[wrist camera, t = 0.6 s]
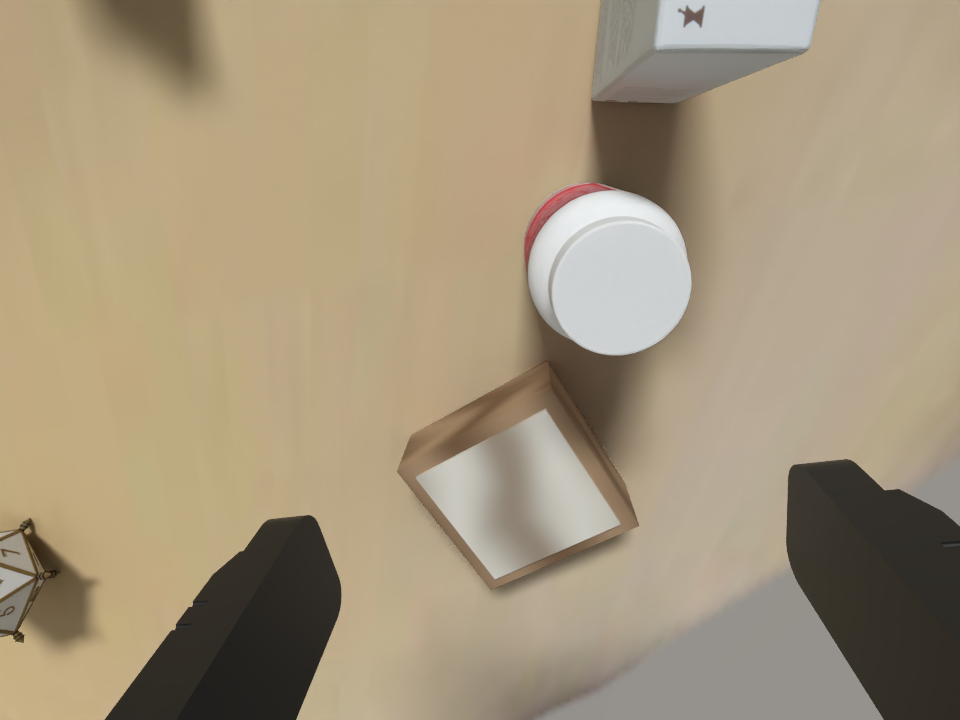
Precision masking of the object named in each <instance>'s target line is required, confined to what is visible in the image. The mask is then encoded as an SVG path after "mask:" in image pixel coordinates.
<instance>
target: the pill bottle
mask: <svg viewBox="0 0 960 720" xmlns="http://www.w3.org/2000/svg"><path fill="white" fill-rule="evenodd" d="M524 251H525V261H526V269H527V278H528V285H529V290H530V293H531V297H532V299H533V302H534V304H535V306H536V308H537V310H538V312H539V313H540V315H541V316H542V318H543V319H544V320H545V321H546V323H547V324H548V325H549V326H551V327H552V328H553V329H554V330H555V331H556V332H558V333H559V334H561V335H562V336H564V337H566V338H568V339H570V340H572V341H574V342H575V343H577V344H578V345H580V346H581V347H583V348H585V349H587V350H589V351H592V352H595V353H599V354H603V355H628V354H632V353H636V352H639V351H642V350H645V349H647V348H649V347H651V346H652V345H655V344H656V343H658V342H659V341H660V340H662V339H663V338H664V337H666V336H667V335H668V334H669V333H670V332H671V331H672V330H673V329H674V327H675V326H676V325H677V324H678V322H679V321H680V319H681V318H682V316H683V314H684V312H685V310H686V308H687V305H688V302H689V299H690V294H691V286H692V281H691V271H690V266H689V263H688V260H687V252H686V247H685V243H684V240H683V237H682V235H681V233H680V230H679V229H678V227H677V225H676V224H675V222H674V221H673V219H672V218H671V217H670V216H669V215H668V214H667V213H666V212H665V211H664V210H663V209H662V208H661V207H659V206H658V205H657V204H655V203H653V202H652V201H650V200H649V199H647V198H645V197H643V196H641V195H638V194H636V193H632V192H627V191H624V190H620V189H617V188H615V187H611V186H608V185H604V184H600V183H593V182H583V183H575V184H571V185H568V186H565V187H562V188H560V189H558V190H556V191H555V192H553V193H552V194H550V195H549V196H548V197H547V198H545V199H544V200H543V201H542V202H541V203H540V205H539V206H538V207H537V209H536V210H535V211H534V213H533V215H532V216H531V218H530V221H529V223H528V226H527V229H526V233H525V241H524Z"/></svg>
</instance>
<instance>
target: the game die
mask: <svg viewBox="0 0 960 720" xmlns="http://www.w3.org/2000/svg"><path fill="white" fill-rule="evenodd" d="M29 525H31V524H30V519H28V520H26V521H24V522H23V523H22V524H21V525H20V528H19V529H18V530H11V531H4V532H0V637H4V636H8V635H13V637H14V638H13V639H15V640H16V641H17V642H22V643H24V635H23V634H22V633H21V632H19V631H18V629H19V628H20V626H21V624H22V622H23V620H24V618H25V616H26V615H27V613H28V611H29V609H30V607H31V605H32V604H33V602H34V600H35V598H36V596H37V594H38V592H39V591H40V589H41V587H42V585H43V583H44V581H45V580H46V579H47V578H48V577H49V578H51V577H53V578H54V577H55V576H56V575H57V574H59V573H60V572H57V571H55V570H53V571H49V572H47V571H46V570H45V569H44V567H43V565H42V563H41V561H40V560H39V558H38V556H37V554H36V552H35V551H34V549H33V547H32V545H31V543H30V542H29V540H28V538H27V536H26V534H25V533H24V530H25V529H27V528H28V526H29ZM16 641H15V642H16Z"/></svg>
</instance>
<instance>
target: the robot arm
mask: <svg viewBox="0 0 960 720" xmlns="http://www.w3.org/2000/svg"><path fill="white" fill-rule="evenodd" d="M786 545H787V552H788V557H789V561H790V565H791V568H792V570H793V573H794V575H795V578H796V580H797V582H798V584H799V585H800V587H801V589H802V590H803V592H804V593H805V595H806V596H807V598H808V600H809V601H810V603H811V605H812V606H813V608H814V609H815V611H816V612H817V614H818V615H819V617H820V619H821V620H822V622H823V623H824V625H825V627H826V628H827V630H828V632H829V633H830V634H831V636H832V638H833V639H834V641H835V643H836V644H837V646H838V647H839V649H840V651H841V652H842V654H843V655H844V657H845V659H846V660H847V662H848V663H849V665H850V666H851V668H852V670H853V671H854V673H855V674H856V676H857V678H858V679H859V681H860V682H861V684H862V686H863V687H864V689H865V690H866V692H867V693H868V695H869V697H870V698H871V700H872V701H873V703H874V704H875V706H876V708H877V709H878V711H879V712H880V714H881V716H882V717H883V719H884V720H960V526H958V525H957V524H956V523H955V522H954V521H953V520H952V519H950V518H949V517H948V516H947V515H946V514H945V513H943V512H942V511H941V510H939V509H937V508H934V507H933V506H931V505H929V504H927V503H925V502H923V501H921V500H919V499H917V498H915V497H913V496H911V495H909V494H907V493H905V492H903V491H901V490H899V489H896V490H886V491H885V490H884V489H883V488H881V487H880V486H879V485H878V484H877V483H876V482H875V481H874V480H873V479H872V478H871V477H870V476H869V475H868V474H867V473H866V472H865V471H863V470H862V469H861V468H860V467H859V466H858V465H857V464H856V463H855V462H853V461H851V460H848V459H844V460H835V461H825V462H816V463H806V464H797V465H793V466H792V467H791V469H790V471H789V476H788V504H787V536H786ZM340 606H341V584H340V580H339V577H338V574H337V571H336V569H335V566H334V564H333V561H332V558H331V556H330V553H329V550H328V548H327V545H326V543H325V540H324V537H323V535H322V532H321V529H320V527H319V525H318V522H317V521H316V519H315V518H314V517H312V516H310V515H306V516H296V517H287V518H278V519H270V520H267V521H266V522H265V523H264V524H263V525H262V526H261V527H260V529H259V530H258V532H257V533H256V534H255V536H254V537H253V539H252V540H251V541H250V543H249V544H248V546H247V547H246V548H245V550H244V551H241V552H239V553H238V554H237V555H235V556H234V557H233V558H232V559H231V560H230V561H228V562H227V563H226V564H225V565H224V566H223V567H221V568H220V569H219V570H218V571H217V572H216V573H214V574H213V575H212V577H211V578H210V579H209V581H208V582H207V583H206V585H205V586H204V587H203V589H202V590H201V591H200V593H199V594H198V595H197V597H196V598H195V599H194V601H193V606H192V607H188V609H187V610H186V611H185V613H184V614H183V615H182V617H181V618H180V619H179V621H178V622H177V624H176V629H175V630H172V631H171V632H170V633H169V634H168V636H167V637H166V638H165V640H164V641H163V642H162V644H161V645H160V646H159V648H158V649H157V650H156V652H155V653H154V654H153V656H152V657H151V658H150V660H149V661H148V662H147V664H146V665H145V666H144V668H143V669H142V670H141V672H140V673H139V674H138V676H137V677H136V678H135V680H134V681H133V683H132V684H131V685H130V687H129V688H128V689H127V691H126V692H125V693H124V695H123V696H122V697H121V699H120V700H119V701H118V703H117V704H116V705H115V707H114V708H113V709H112V711H111V712H110V713H109V715H108V716H107V717H106V719H105V720H296V718H297V716H298V713H299V711H300V708H301V706H302V704H303V701H304V699H305V696H306V694H307V691H308V689H309V686H310V684H311V682H312V679H313V677H314V674H315V672H316V669H317V667H318V664H319V662H320V660H321V657H322V655H323V652H324V650H325V647H326V645H327V642H328V640H329V637H330V635H331V633H332V630H333V628H334V625H335V623H336V620H337V618H338V615H339V611H340Z"/></svg>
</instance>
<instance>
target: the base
mask: <svg viewBox="0 0 960 720" xmlns="http://www.w3.org/2000/svg"><path fill="white" fill-rule="evenodd" d="M397 472H398V474H399V475H400V476H401V477H402V479H403V480H404V481H405V482H406V484H407V485H408V486H409V487H410V489H411V490H412V491H413V492H414V494H415V495H416V496H417V497H418V499H419V500H420V501H421V502H422V504H423V505H424V506H425V507H426V509H427V510H428V511H429V512H430V514H431V515H432V516H433V518H434V519H435V520H436V521H437V523H438V524H439V525H440V526H441V528H442V529H443V530H444V531H445V533H446V534H447V535H448V536H449V538H450V539H451V540H452V541H453V543H454V544H455V545H456V546H457V548H458V549H459V550H460V551H461V553H462V554H463V555H464V556H465V558H466V559H467V560H468V561H469V563H470V564H471V565H472V567H473V568H474V569H475V570H476V572H477V573H478V574H479V575H480V577H481V578H482V579H483V580H484V582H485V583H486V584H487V585H488V587H489V588H490V589H491V590H492V589H494V588H497V587H499V586H501V585H503V584H506V583H508V582H510V581H513V580H515V579H517V578H520V577H522V576H524V575H527V574H529V573H531V572H534V571H536V570H538V569H540V568H543V567H545V566H547V565H550V564H552V563H554V562H557V561H559V560H561V559H564V558H566V557H568V556H571V555H573V554H575V553H577V552H580V551H582V550H584V549H587V548H589V547H591V546H594V545H596V544H598V543H601V542H603V541H605V540H608V539H610V538H612V537H614V536H617V535H619V534H621V533H624V532H626V531H628V530H631V529H633V528H635V527H638V526H639V524H638V521H637V518H636V515H635V512H634V509H633V506H632V503H631V500H630V497H629V494H628V491H627V488H626V485H625V483H624V481H623V480H622V478H621V477H620V475H619V473H618V472H617V470H616V469H615V467H614V465H613V464H612V462H611V461H610V459H609V458H608V456H607V454H606V453H605V451H604V450H603V448H602V446H601V445H600V443H599V442H598V440H597V439H596V437H595V435H594V434H593V432H592V431H591V429H590V427H589V426H588V424H587V423H586V421H585V420H584V418H583V416H582V415H581V413H580V412H579V410H578V408H577V407H576V405H575V404H574V402H573V401H572V399H571V397H570V396H569V394H568V393H567V391H566V389H565V388H564V386H563V385H562V383H561V382H560V380H559V378H558V377H557V375H556V374H555V372H554V370H553V369H552V367H551V366H550V364H549V363H548V361H546V362H544V363H542V364H540V365H538V366H537V367H535V368H533V369H531V370H529V371H528V372H526V373H524V374H522V375H520V376H518V377H517V378H515V379H513V380H511V381H509V382H508V383H506V384H504V385H502V386H500V387H498V388H497V389H495V390H493V391H491V392H489V393H488V394H486V395H484V396H482V397H480V398H478V399H477V400H475V401H473V402H471V403H469V404H468V405H466V406H464V407H462V408H460V409H458V410H457V411H455V412H453V413H451V414H449V415H448V416H446V417H444V418H442V419H440V420H438V421H437V422H435V423H433V424H431V425H429V426H428V427H426V428H424V429H422V430H420V431H418V432H417V433H415V434H413V435H411V436H410V439H409V442H408V444H407V447H406V449H405V452H404V455H403V457H402V460H401V462H400V465H399V468H398V470H397Z"/></svg>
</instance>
